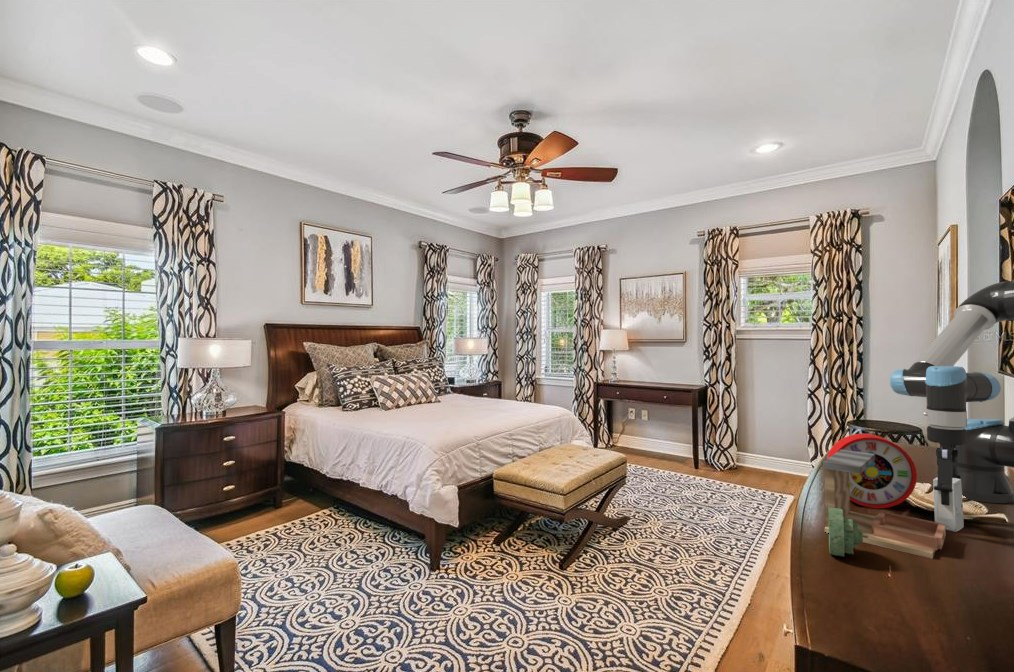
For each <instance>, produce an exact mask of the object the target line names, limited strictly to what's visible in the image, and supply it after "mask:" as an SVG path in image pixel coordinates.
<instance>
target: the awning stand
mask: <svg viewBox="0 0 1014 672" xmlns="http://www.w3.org/2000/svg"><path fill="white" fill-rule="evenodd" d="M874 461H875V454H870V453H862V452H855V451H847V450H839V451H838V452H837V453H835V454H834V455H832V456H831V457H829V458H828V459H827V458H826V459H825V460H824V461H822V469H824V470H823V472H824V473H823V474H824V507H825V509H824V510H825V511H824V512H825V514H824V516H825V522H824V523H825V526H824V533H825V532H826V533H825V534H828V533H829V524H828V507H831V508H837V509H842V510H843V518H849V519H852V520H853V523H857V524H858V530H862V532H863V535H865V536H868V538H864V537H863V543H866V544H868V545H869V544H870V545H874V546H878V547H882V548H886V549H890V550H894V551H898V552H902V553H906V554H911V555H915V556H919V557H923V558H928V559H931V560H933V559H934V556H935V553H936V551H938V549H939V550H942V548H943V546H944V542H945V539H946V537H947V536H946V533H947V532H946V531H947V530H945V525H942V523H938V522H935V521H932V520H927V519H922V518H917V517H913V516H912V517H911V516H906V515H902V514H896V513H892V512H887V511H882V512H880V511H879V512H878V514H877V515H870V514H865V513H860V512H856V511H851V507H850V502H851V500H850V493H849V472H850V473H857V474H861V473H862V472H863V471H864V470H865V469H866V468H867V467H868V466H869V465H870V464H871V463H872V462H874Z"/></svg>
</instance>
